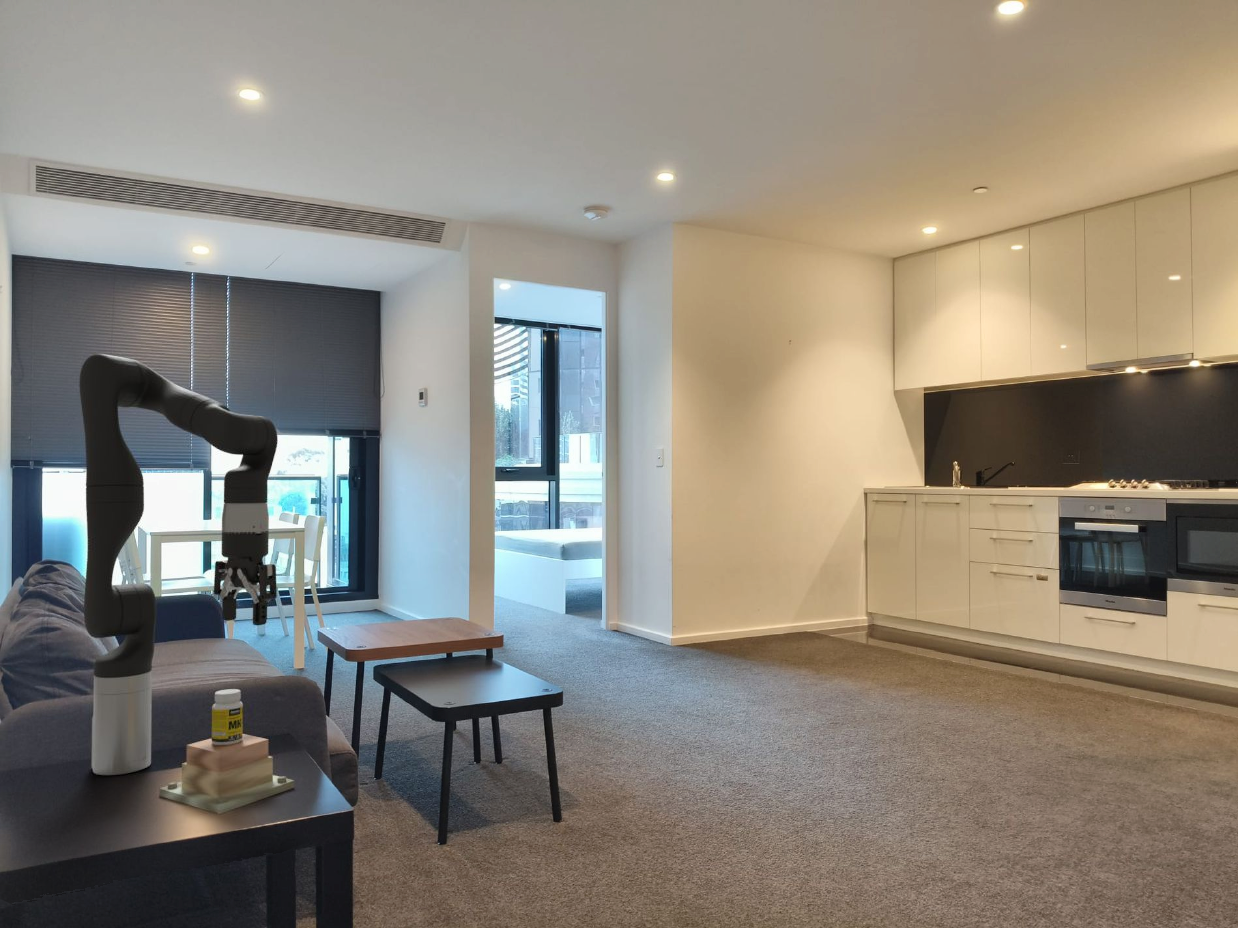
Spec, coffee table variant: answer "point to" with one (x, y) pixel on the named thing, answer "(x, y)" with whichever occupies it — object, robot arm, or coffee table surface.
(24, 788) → the coffee table surface
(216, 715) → the supplement bottle
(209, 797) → the stepped pedestal block
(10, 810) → the coffee table surface
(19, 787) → the coffee table surface
